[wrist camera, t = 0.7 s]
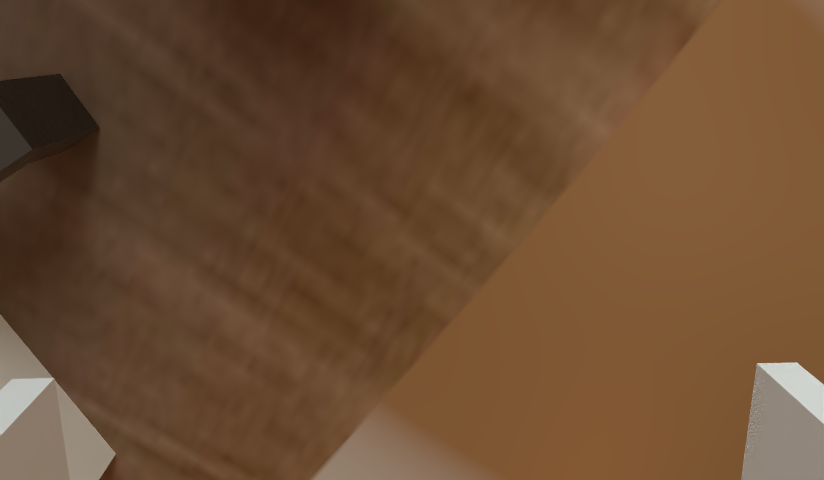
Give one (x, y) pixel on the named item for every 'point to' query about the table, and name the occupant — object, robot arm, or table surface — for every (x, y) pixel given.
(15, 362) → the tile
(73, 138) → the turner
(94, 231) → the table surface
